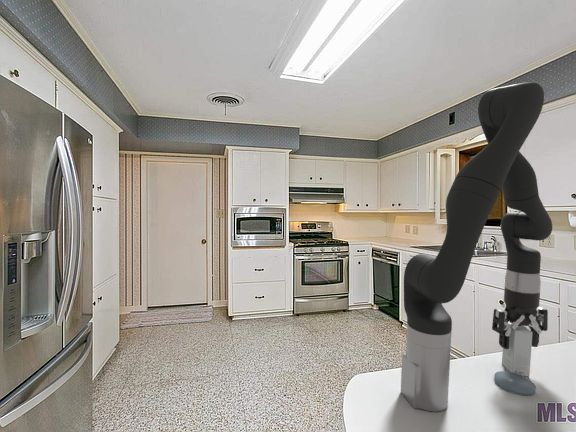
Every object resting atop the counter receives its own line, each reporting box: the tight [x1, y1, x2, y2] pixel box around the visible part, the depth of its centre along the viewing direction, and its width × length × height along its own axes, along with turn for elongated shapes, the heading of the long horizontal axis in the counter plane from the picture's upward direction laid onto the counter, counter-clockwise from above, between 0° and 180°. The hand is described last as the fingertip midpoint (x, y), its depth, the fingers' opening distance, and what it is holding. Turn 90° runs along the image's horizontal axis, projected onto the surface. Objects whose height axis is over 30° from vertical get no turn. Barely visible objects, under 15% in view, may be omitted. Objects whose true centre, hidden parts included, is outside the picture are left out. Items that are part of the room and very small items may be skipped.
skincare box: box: [501, 321, 533, 377], centre depth 84 cm, size 6×4×12 cm
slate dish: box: [493, 370, 537, 397], centre depth 78 cm, size 8×8×1 cm
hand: (518, 346), depth 84 cm, fingers open, 8 cm apart
